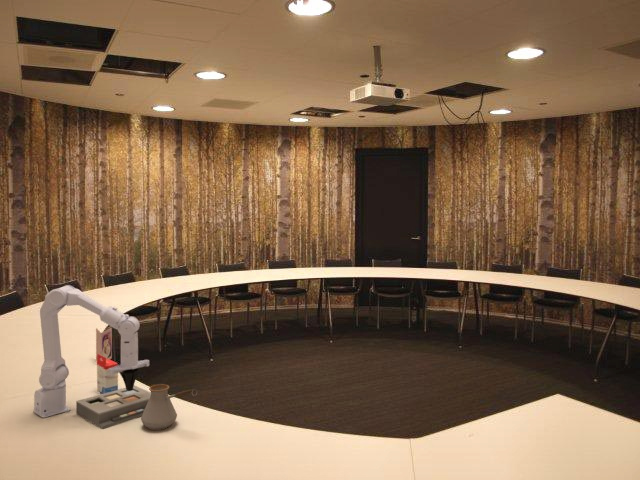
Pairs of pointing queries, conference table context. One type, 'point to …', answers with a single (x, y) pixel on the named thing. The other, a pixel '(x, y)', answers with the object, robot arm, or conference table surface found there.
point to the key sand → (113, 397)
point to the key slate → (129, 393)
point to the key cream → (113, 404)
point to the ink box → (106, 375)
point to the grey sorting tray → (116, 414)
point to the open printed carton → (104, 343)
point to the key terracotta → (130, 399)
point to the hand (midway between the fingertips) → (129, 390)
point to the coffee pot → (160, 408)
